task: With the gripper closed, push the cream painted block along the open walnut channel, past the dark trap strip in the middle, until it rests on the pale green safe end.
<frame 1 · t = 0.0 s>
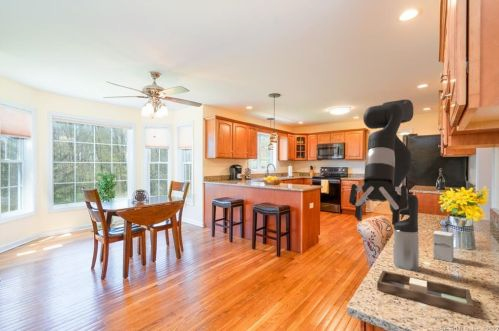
hand: (375, 222, 65), 31 cm above the kitchen counter, tool tilted 20°, fingers open, 8 cm apart
supplement box: (443, 258, 118), on the kitchen counter
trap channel: (421, 296, 85), on the kitchen counter
cream block: (418, 293, 85), point 1 cm above the kitchen counter, touching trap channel
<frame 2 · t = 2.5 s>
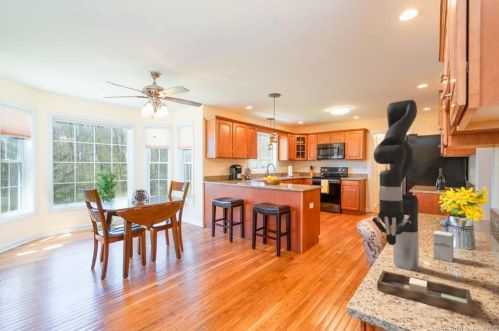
hand: (391, 244, 90), 17 cm above the kitchen counter, tool pointing down, fingers closed
nothing on the kitchen counter moved.
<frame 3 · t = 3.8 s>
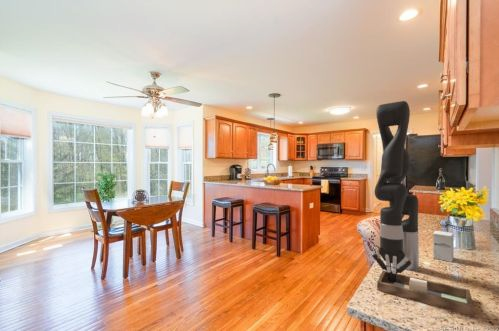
hand: (392, 282, 90), 3 cm above the kitchen counter, tool pointing down, fingers closed
nothing on the kitchen counter moved.
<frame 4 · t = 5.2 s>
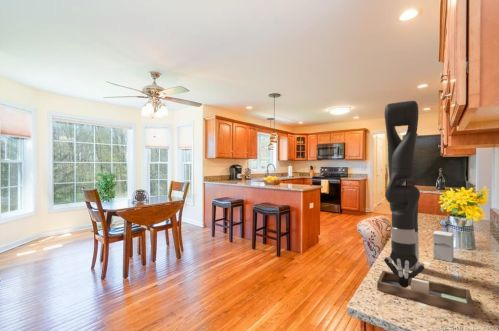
hand: (403, 286, 88), 2 cm above the kitchen counter, tool pointing down, fingers closed
cream block: (420, 293, 85), point 1 cm above the kitchen counter, touching gripper, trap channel
everything else where it was.
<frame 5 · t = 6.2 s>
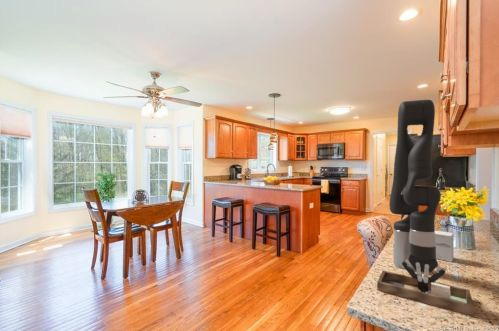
hand: (423, 291, 84), 2 cm above the kitchen counter, tool pointing down, fingers closed
cream block: (440, 299, 81), point 1 cm above the kitchen counter, touching gripper, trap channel
everything else where it was.
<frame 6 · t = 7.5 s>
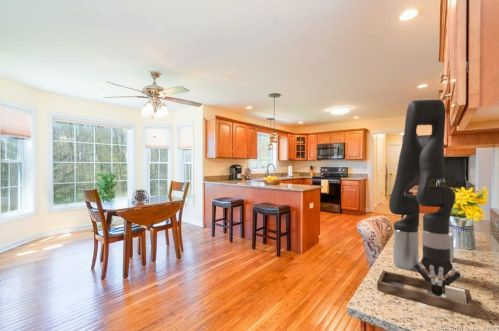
hand: (436, 295, 82), 2 cm above the kitchen counter, tool pointing down, fingers closed
cream block: (455, 302, 79), point 1 cm above the kitchen counter, touching gripper, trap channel
everything else where it was.
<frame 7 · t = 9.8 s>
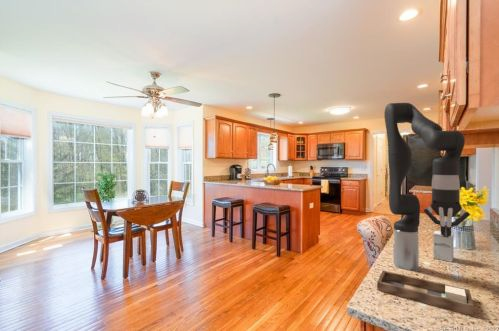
hand: (445, 236, 84), 21 cm above the kitchen counter, tool pointing down, fingers closed
cream block: (455, 302, 79), point 1 cm above the kitchen counter, touching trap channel
everything else where it was.
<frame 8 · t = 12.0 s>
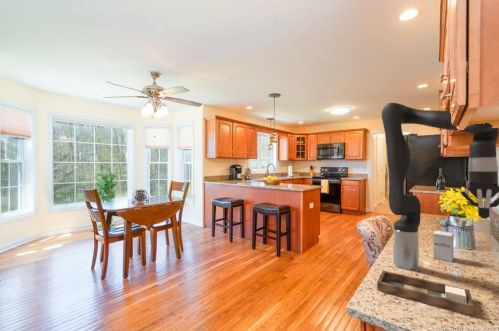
hand: (483, 218, 86), 27 cm above the kitchen counter, tool pointing down, fingers closed
nothing on the kitchen counter moved.
at the end: cream block 0.5 cm from the target spot on the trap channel, point 1.0 cm above the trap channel's base; cream block tilted 0°; cream block moved 10.0 cm from its start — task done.
